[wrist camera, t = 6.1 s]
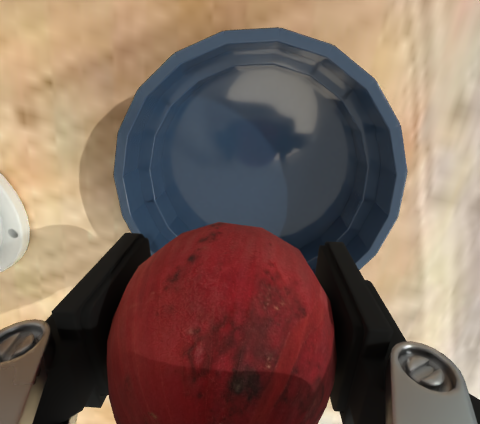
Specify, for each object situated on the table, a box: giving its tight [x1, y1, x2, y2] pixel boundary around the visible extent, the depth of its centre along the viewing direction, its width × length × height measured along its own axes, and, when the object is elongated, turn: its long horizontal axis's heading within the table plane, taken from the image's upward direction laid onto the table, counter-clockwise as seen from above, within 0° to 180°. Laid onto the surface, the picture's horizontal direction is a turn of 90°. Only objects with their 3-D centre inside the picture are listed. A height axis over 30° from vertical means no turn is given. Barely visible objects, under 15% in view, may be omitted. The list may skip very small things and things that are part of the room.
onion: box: [107, 222, 337, 424], centre depth 7 cm, size 6×6×8 cm
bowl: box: [114, 27, 407, 274], centre depth 19 cm, size 17×17×5 cm
